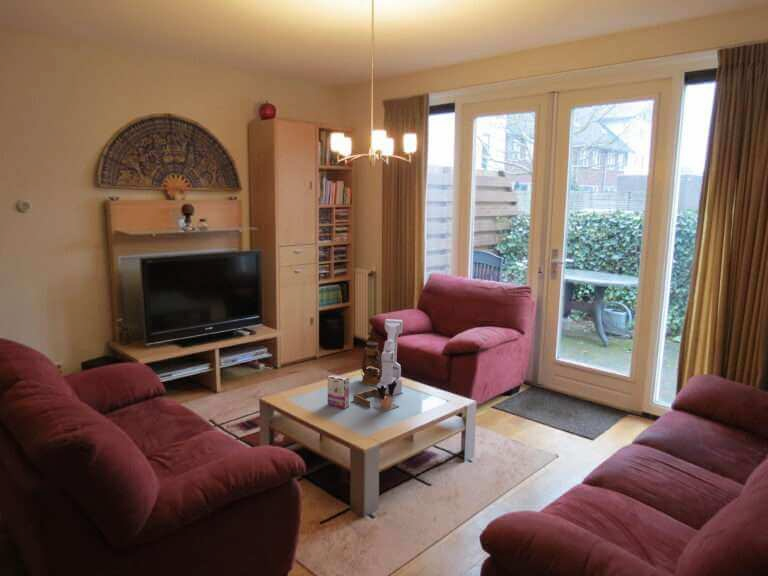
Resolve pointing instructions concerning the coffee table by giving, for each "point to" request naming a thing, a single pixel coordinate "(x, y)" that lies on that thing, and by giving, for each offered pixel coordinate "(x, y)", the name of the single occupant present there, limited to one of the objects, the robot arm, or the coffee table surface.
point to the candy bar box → (338, 391)
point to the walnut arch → (360, 397)
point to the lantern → (371, 373)
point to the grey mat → (385, 408)
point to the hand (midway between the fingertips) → (386, 397)
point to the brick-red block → (386, 402)
